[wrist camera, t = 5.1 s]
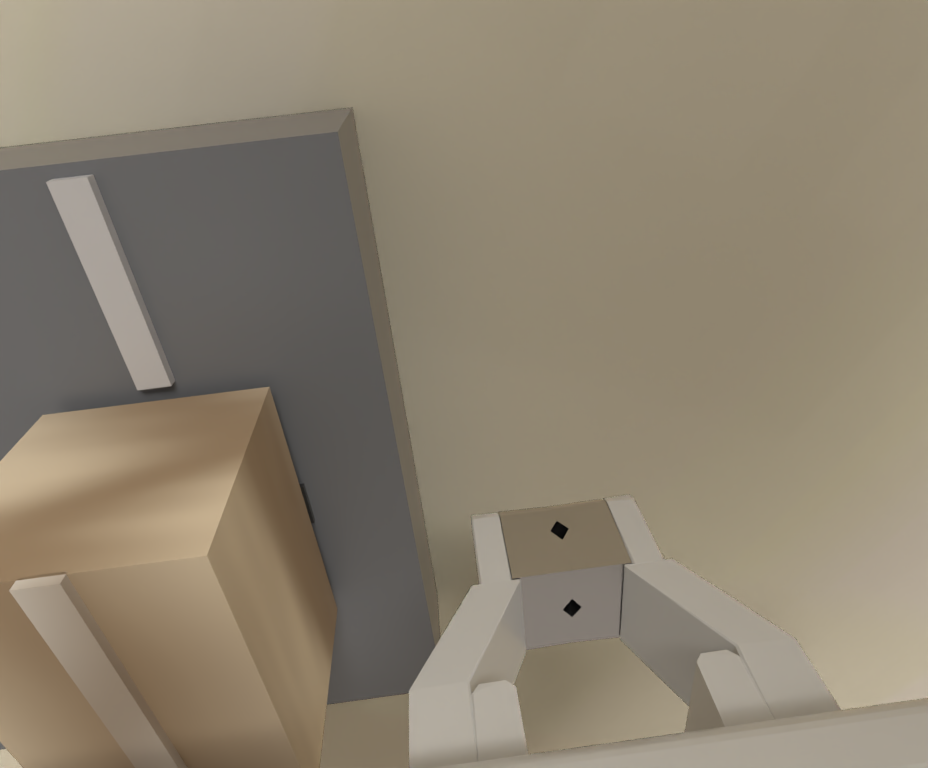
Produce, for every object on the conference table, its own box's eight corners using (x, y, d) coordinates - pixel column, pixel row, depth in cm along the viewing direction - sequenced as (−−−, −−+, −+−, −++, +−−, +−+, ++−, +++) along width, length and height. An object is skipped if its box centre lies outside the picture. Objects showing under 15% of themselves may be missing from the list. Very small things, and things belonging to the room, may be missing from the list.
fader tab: (269, 386, 11) (203, 564, 7) (337, 609, 14) (314, 810, 10) (43, 414, 11) (-137, 609, 7) (162, 632, 14) (78, 843, 10)
